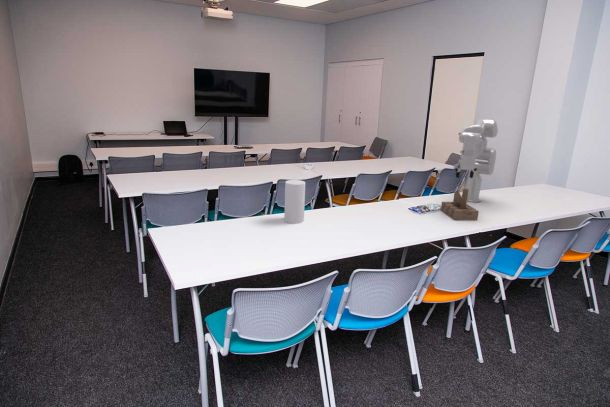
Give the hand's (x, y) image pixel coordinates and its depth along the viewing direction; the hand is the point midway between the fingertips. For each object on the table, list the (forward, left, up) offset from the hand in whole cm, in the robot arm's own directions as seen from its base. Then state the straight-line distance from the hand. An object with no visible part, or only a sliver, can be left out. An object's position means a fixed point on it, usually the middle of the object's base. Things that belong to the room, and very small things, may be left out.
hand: (464, 177), depth 271 cm
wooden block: (0, 0, -26) cm, 26 cm away
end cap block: (0, 0, -27) cm, 27 cm away
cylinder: (+12, -116, -27) cm, 120 cm away
